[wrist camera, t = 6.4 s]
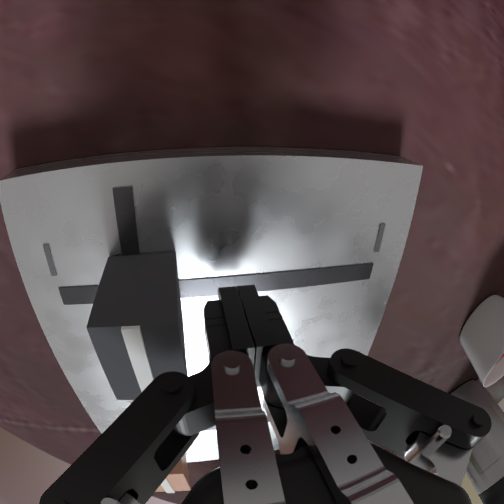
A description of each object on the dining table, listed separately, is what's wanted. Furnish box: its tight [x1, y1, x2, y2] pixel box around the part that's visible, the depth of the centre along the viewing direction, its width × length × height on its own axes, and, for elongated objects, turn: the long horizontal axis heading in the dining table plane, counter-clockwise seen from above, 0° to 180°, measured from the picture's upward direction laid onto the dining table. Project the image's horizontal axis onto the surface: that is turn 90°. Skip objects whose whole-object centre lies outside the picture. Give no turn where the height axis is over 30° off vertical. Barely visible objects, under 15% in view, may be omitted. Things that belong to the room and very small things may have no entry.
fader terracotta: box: [155, 453, 191, 493], centre depth 18 cm, size 3×4×5 cm
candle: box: [460, 295, 504, 387], centre depth 24 cm, size 9×9×6 cm
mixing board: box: [0, 147, 423, 462], centre depth 19 cm, size 20×26×2 cm
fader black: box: [86, 252, 188, 400], centre depth 12 cm, size 3×4×5 cm
